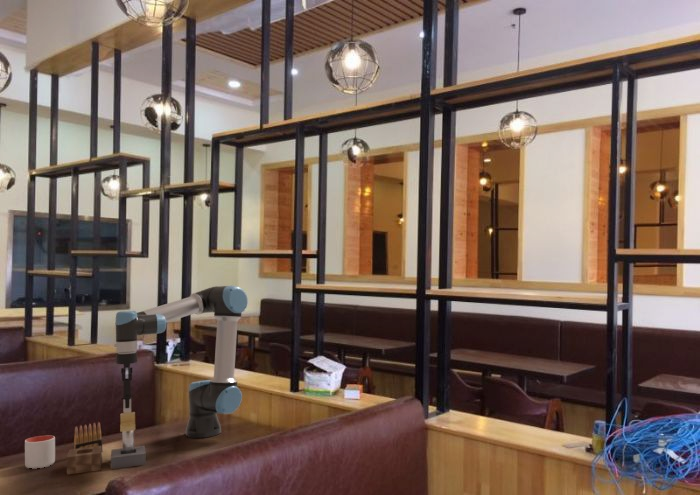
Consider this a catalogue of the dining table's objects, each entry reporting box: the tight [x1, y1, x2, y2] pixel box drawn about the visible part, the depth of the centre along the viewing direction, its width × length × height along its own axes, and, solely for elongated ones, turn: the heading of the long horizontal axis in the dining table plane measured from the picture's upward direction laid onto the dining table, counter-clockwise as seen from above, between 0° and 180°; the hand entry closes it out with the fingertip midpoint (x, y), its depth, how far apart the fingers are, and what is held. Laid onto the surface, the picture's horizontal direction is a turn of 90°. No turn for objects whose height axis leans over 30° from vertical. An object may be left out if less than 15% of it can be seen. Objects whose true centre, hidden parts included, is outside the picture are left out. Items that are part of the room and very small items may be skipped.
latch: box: [119, 411, 136, 433], centre depth 220 cm, size 5×10×4 cm, turn 20°
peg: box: [121, 430, 135, 454], centre depth 227 cm, size 4×4×14 cm
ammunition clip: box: [73, 421, 103, 449], centre depth 239 cm, size 11×2×12 cm, turn 135°
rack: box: [66, 445, 103, 475], centre depth 221 cm, size 11×11×6 cm
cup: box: [24, 434, 56, 470], centre depth 226 cm, size 10×10×10 cm
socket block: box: [110, 445, 147, 470], centre depth 227 cm, size 12×12×14 cm
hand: (127, 416), depth 225 cm, fingers closed
